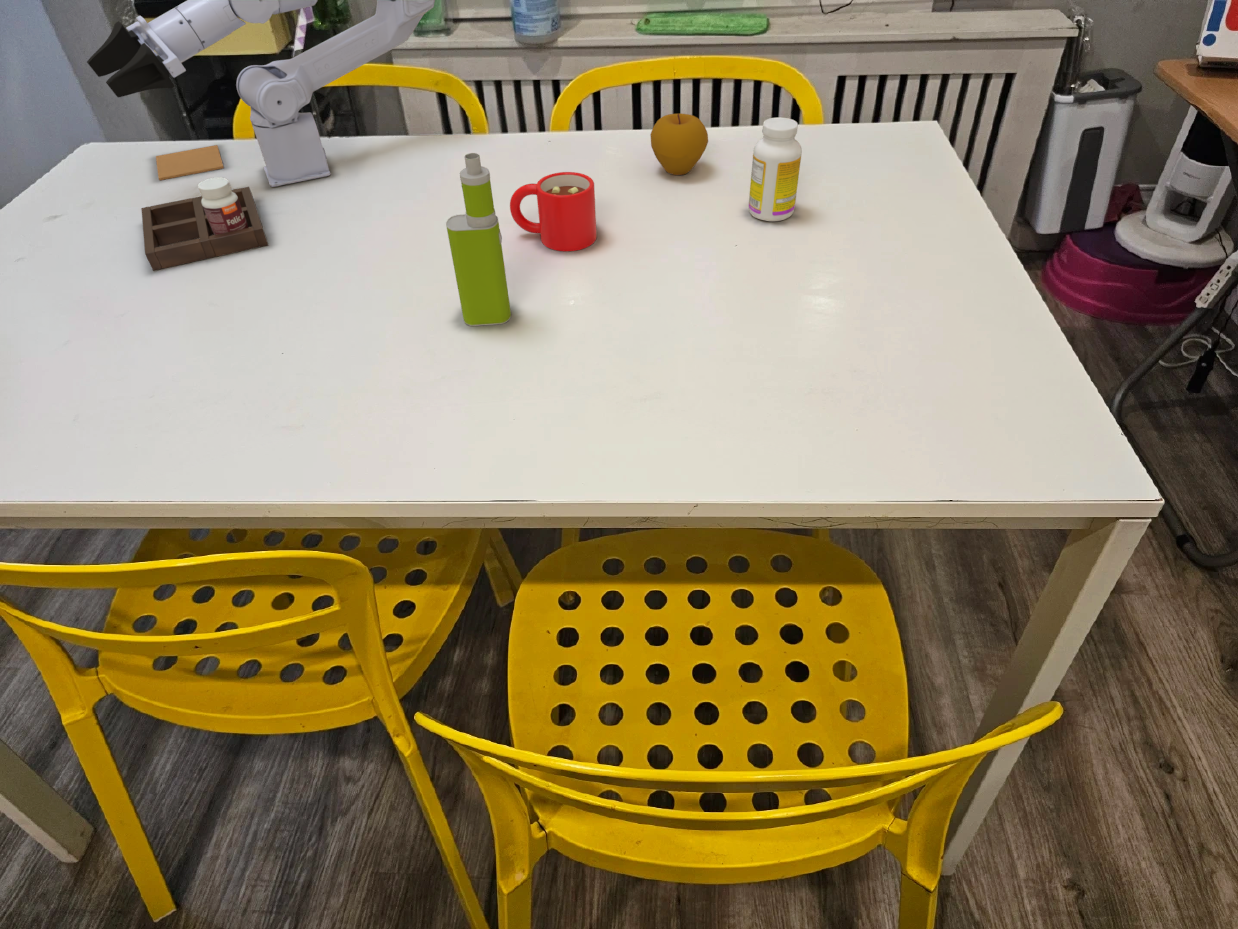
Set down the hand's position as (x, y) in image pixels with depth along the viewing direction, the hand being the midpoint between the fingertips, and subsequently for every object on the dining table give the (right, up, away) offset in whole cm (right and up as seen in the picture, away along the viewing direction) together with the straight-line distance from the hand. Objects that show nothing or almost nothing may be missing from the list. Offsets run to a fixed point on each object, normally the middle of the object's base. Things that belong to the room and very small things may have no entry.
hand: (102, 79), depth 107 cm
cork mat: (-3, -1, +27) cm, 27 cm away
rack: (+10, -19, +8) cm, 23 cm away
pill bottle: (+15, -20, +7) cm, 26 cm away
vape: (+54, -34, -9) cm, 64 cm away
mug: (+61, -20, +5) cm, 64 cm away
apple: (+80, -5, +20) cm, 82 cm away
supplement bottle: (+92, -15, +9) cm, 94 cm away
